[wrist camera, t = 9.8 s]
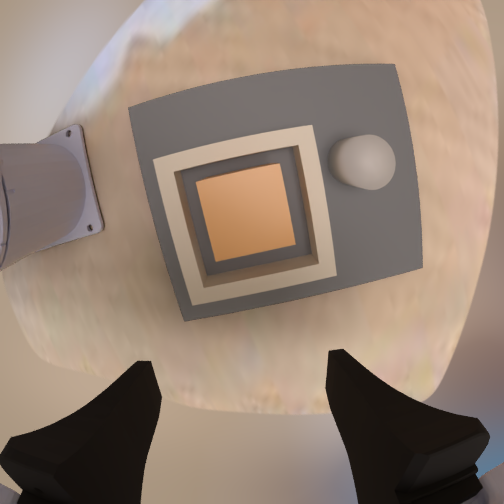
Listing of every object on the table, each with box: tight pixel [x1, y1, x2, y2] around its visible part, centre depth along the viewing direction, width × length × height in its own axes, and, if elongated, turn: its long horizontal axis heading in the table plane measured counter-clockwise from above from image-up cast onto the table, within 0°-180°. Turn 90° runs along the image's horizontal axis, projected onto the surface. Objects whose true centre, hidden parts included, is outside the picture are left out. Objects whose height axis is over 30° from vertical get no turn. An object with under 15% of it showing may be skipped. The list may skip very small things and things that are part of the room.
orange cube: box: [196, 163, 296, 262], centre depth 17 cm, size 4×4×4 cm
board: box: [128, 64, 423, 321], centre depth 17 cm, size 18×15×4 cm
